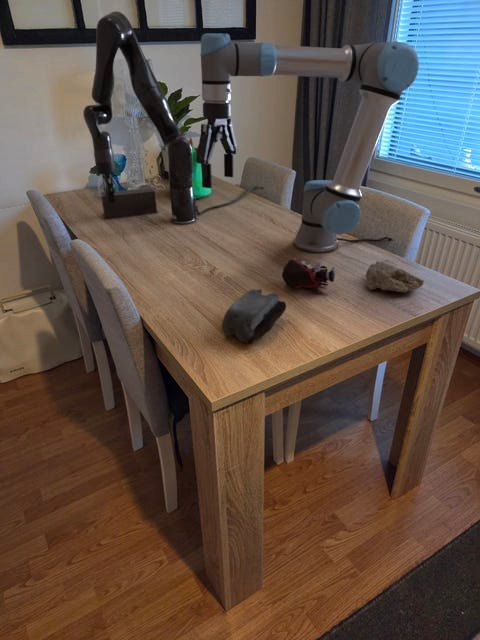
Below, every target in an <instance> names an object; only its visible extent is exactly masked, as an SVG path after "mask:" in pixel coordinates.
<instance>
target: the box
mask: <svg viewBox="0 0 480 640" xmlns="http://www.w3.org/2000/svg"><path fill="white" fill-rule="evenodd" d="M114 191H115V190H114ZM114 199H115V203H110V202H109V197H108V193H107V192H106V191H105V192H100V200H101V206H102V210H103V216H104V218H105V220H110V219H119V218H127V217H135V216H144V215H154V214H158V209H157V200H156V199H157V198H156V191H155V189H154V188H153V187H148V188H147V187H146V188H135V189H126V190H116V191H115V193H114Z"/></svg>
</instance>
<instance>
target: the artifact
mask: <svg viewBox="0 0 480 640" xmlns="http://www.w3.org/2000/svg"><path fill="white" fill-rule="evenodd" d="M365 278H366V287H368V288H369V290H370V291H373V290H376V289H381V291H392V292H397V293H408V292H409V291H416V290H417V289H419V288H421V287H422V286H423V285H424V280H423V279H421V278H419V277H417V276H415V275H413V274H411V273H409V272H408V271H406V270H404V269H401V267H400V266H398V265H397V264H395V262H393V260H391V259H384V260H382V261H376V262H375V263H371V264H370V265H369V266H368V268H367V271H366V273H365Z"/></svg>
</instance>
